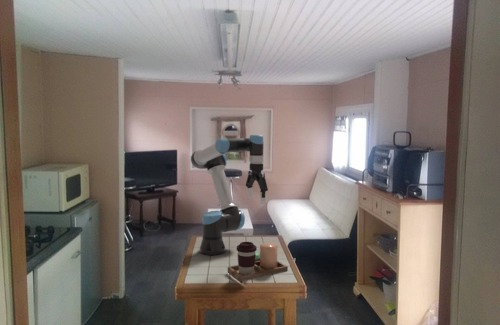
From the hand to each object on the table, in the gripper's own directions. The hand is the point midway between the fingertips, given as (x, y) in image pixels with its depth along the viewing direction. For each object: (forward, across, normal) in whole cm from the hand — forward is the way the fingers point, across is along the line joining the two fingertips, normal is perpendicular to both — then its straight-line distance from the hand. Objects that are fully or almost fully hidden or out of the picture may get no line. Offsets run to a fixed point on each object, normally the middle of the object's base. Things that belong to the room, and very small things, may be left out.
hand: (256, 201), depth 212 cm
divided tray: (+33, +18, -9) cm, 38 cm away
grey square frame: (+33, +6, -4) cm, 33 cm away
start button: (+31, +6, -4) cm, 31 cm away
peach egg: (+31, +18, -3) cm, 36 cm away
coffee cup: (+32, +18, -16) cm, 40 cm away
